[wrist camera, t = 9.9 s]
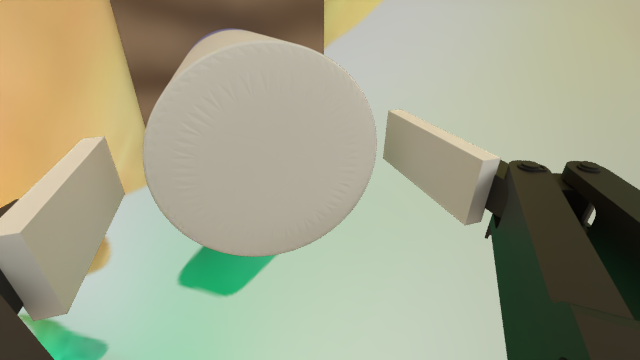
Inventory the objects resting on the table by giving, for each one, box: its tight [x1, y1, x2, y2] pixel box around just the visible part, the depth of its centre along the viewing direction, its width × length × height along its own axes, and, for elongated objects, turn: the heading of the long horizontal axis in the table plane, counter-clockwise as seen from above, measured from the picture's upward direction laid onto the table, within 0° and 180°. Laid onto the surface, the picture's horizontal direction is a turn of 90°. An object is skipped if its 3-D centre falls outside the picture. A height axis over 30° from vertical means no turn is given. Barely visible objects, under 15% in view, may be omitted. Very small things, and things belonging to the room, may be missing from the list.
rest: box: [110, 0, 324, 128], centre depth 28 cm, size 18×18×8 cm
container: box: [143, 28, 377, 257], centre depth 21 cm, size 10×10×20 cm
